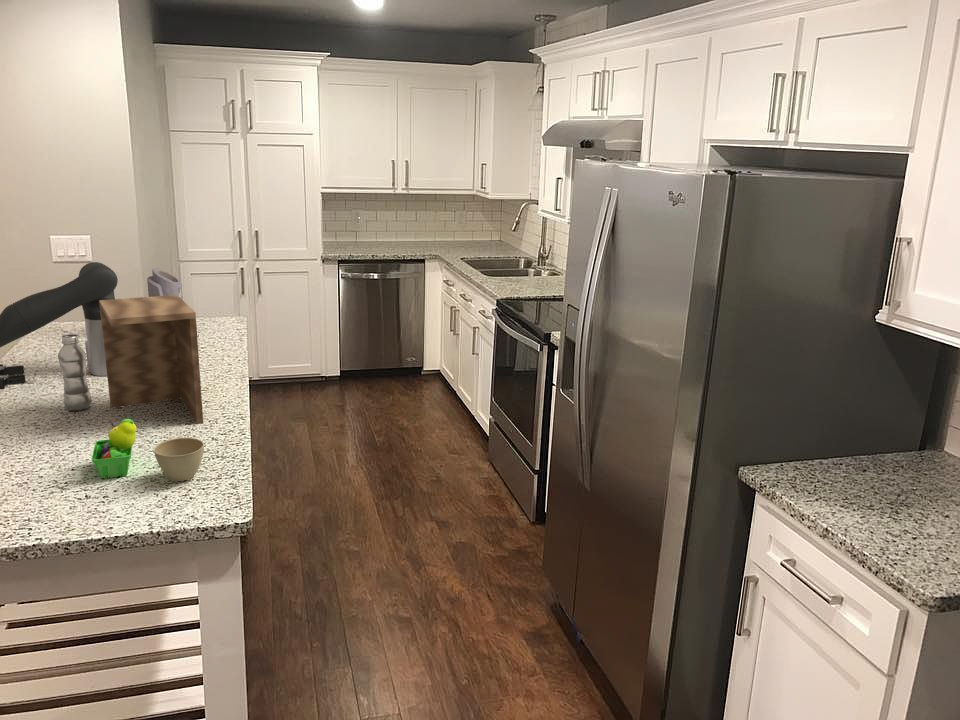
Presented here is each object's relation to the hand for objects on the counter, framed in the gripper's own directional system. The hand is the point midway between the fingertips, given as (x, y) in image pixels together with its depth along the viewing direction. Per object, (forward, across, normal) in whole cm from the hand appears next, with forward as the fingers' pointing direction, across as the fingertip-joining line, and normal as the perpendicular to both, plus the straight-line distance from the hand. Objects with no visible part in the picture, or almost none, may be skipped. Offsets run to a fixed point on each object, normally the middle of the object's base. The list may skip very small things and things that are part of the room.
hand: (24, 374), depth 192 cm
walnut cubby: (+28, +13, -11) cm, 33 cm away
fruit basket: (+15, +45, -12) cm, 48 cm away
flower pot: (+26, +55, -11) cm, 62 cm away
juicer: (+42, -71, -12) cm, 83 cm away
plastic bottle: (+11, 0, -11) cm, 16 cm away
